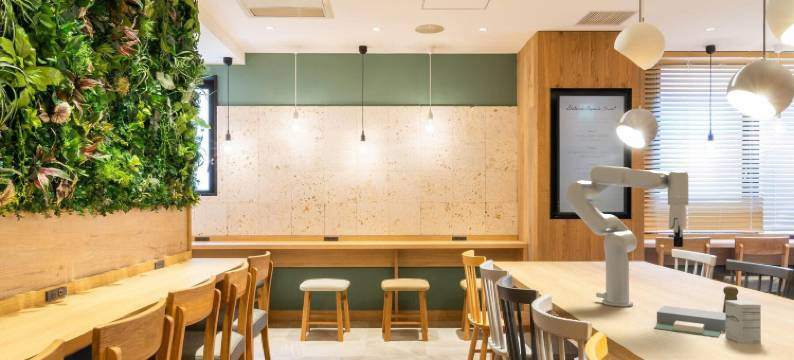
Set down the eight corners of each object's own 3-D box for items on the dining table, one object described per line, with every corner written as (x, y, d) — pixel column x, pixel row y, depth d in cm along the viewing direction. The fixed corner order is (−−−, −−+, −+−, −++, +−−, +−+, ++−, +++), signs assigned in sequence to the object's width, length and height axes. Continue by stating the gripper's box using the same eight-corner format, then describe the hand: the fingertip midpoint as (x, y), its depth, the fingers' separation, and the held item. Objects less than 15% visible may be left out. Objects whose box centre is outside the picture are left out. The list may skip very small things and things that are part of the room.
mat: (653, 328, 195) (653, 327, 195) (659, 323, 203) (659, 322, 203) (718, 337, 183) (718, 336, 183) (721, 331, 191) (721, 330, 191)
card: (676, 320, 198) (676, 326, 197) (673, 323, 193) (673, 329, 193) (704, 324, 192) (704, 329, 192) (702, 327, 187) (702, 333, 187)
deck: (656, 322, 204) (656, 311, 204) (664, 315, 216) (664, 305, 216) (724, 331, 191) (724, 320, 191) (728, 324, 203) (728, 313, 203)
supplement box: (724, 337, 183) (724, 300, 183) (745, 337, 184) (744, 299, 184) (740, 343, 176) (739, 304, 176) (761, 343, 176) (761, 304, 177)
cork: (742, 315, 217) (742, 288, 217) (725, 315, 218) (725, 287, 218) (736, 312, 222) (735, 285, 223) (720, 312, 224) (719, 285, 224)
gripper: (671, 201, 229) (671, 244, 229) (664, 201, 217) (664, 247, 217) (691, 201, 225) (691, 246, 224) (685, 201, 213) (685, 248, 212)
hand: (678, 246), depth 220 cm, fingers closed
